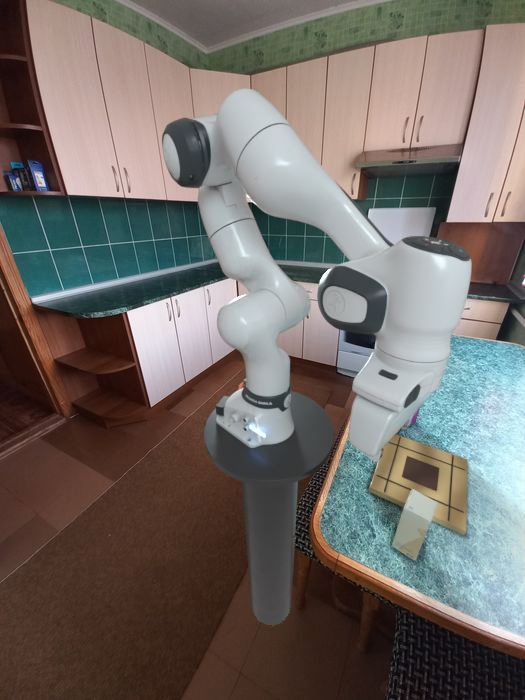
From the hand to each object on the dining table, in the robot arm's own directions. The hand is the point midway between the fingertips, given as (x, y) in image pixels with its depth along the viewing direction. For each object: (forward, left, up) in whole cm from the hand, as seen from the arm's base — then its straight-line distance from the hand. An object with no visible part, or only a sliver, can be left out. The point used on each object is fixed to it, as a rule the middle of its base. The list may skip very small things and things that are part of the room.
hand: (388, 440), depth 46 cm
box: (+7, +2, -24) cm, 25 cm away
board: (+7, +19, -24) cm, 31 cm away
